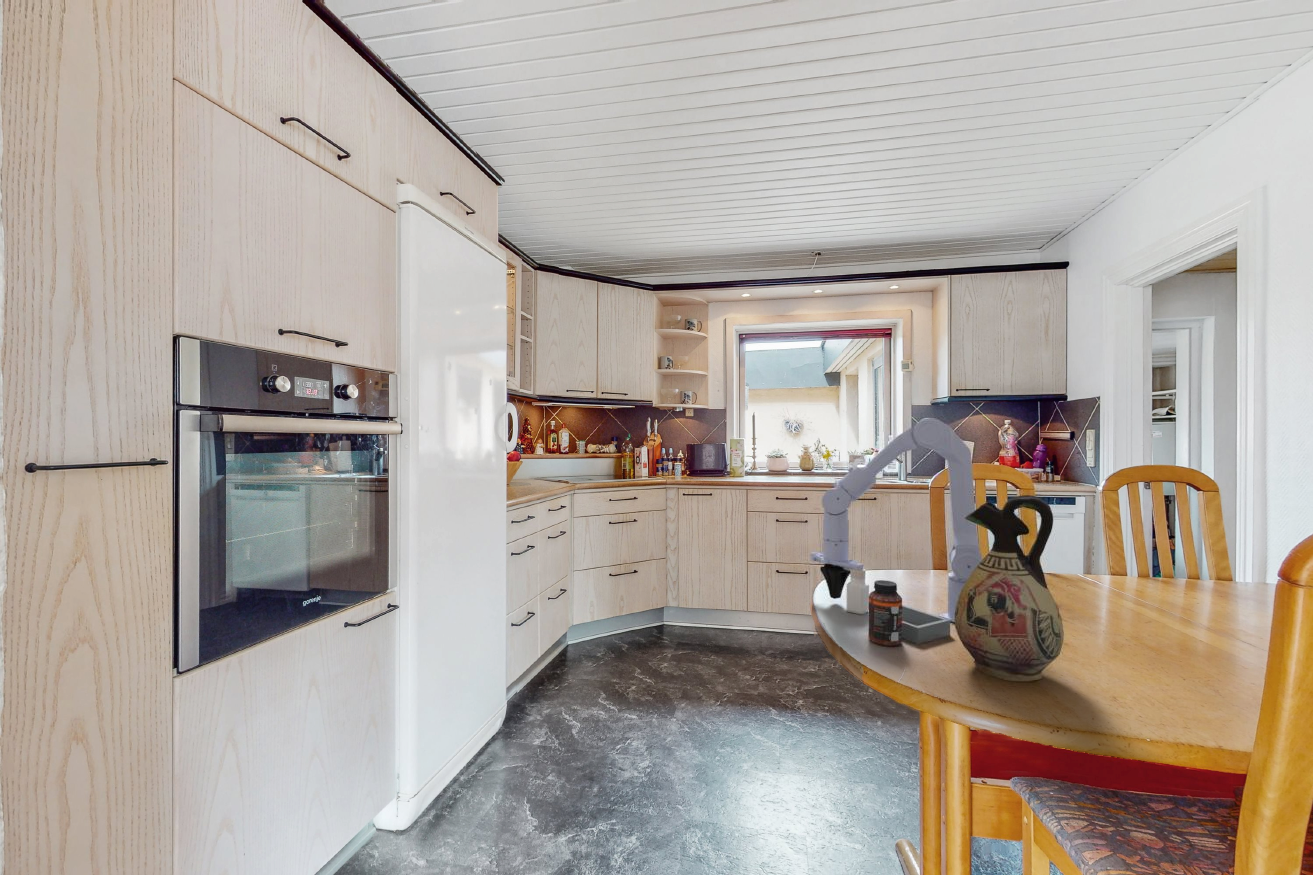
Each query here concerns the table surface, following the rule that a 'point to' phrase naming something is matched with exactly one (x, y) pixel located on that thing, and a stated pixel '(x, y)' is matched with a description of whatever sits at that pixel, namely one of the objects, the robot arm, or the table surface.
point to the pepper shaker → (857, 592)
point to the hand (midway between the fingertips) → (835, 597)
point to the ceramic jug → (1010, 598)
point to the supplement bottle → (885, 614)
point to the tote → (923, 625)
